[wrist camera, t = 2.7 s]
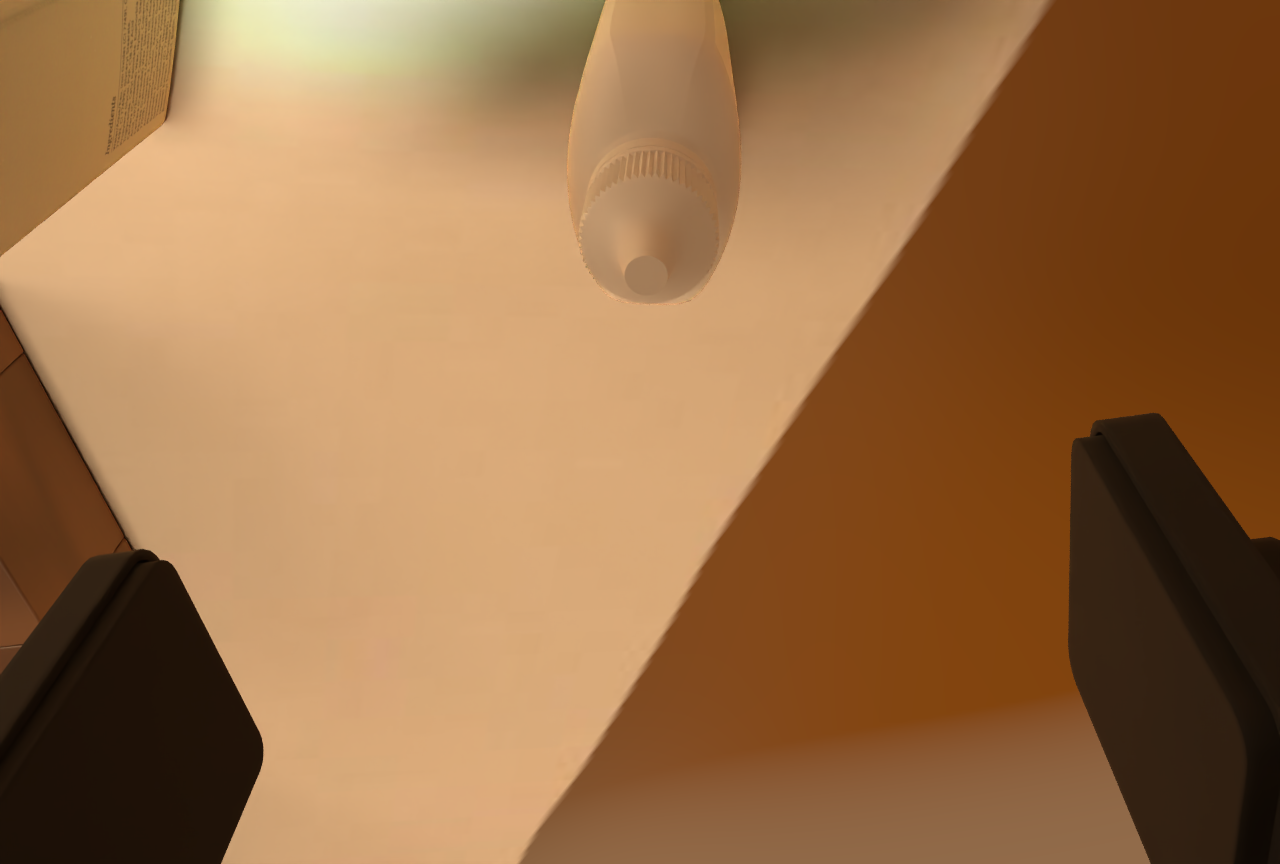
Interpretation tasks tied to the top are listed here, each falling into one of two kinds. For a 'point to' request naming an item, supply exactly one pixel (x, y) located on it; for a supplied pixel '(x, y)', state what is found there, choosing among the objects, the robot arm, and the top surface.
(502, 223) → the top surface
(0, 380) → the holder
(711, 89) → the eye dropper bottle
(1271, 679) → the robot arm
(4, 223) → the box
